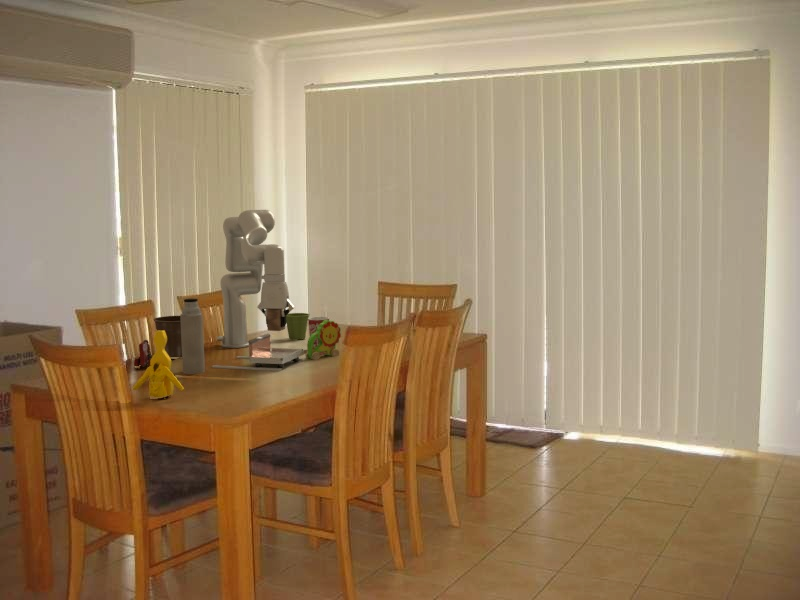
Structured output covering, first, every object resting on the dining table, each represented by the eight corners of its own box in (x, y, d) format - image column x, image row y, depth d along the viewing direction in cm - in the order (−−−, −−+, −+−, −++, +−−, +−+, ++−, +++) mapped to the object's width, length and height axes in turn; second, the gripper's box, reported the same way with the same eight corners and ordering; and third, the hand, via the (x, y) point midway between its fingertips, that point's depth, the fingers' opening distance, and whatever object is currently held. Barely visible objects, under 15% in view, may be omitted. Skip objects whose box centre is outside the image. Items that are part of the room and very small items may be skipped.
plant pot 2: (309, 341, 416) (308, 315, 414) (282, 341, 416) (281, 316, 414) (312, 336, 427) (311, 312, 426) (286, 337, 427) (285, 312, 426)
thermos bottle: (190, 371, 349) (187, 297, 346) (209, 372, 347) (206, 297, 343) (178, 375, 342) (175, 299, 339) (197, 376, 339) (194, 300, 336)
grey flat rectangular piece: (212, 370, 352) (212, 365, 351) (237, 360, 372) (237, 356, 371) (280, 373, 343) (280, 368, 343) (302, 362, 363) (302, 358, 363)
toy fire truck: (159, 364, 365) (158, 338, 364) (151, 370, 353) (150, 343, 352) (141, 364, 365) (140, 338, 364) (133, 370, 353) (131, 343, 352)
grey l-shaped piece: (246, 368, 348) (245, 340, 347) (269, 359, 367) (268, 332, 366) (282, 370, 344) (281, 342, 342) (303, 360, 363) (302, 333, 361)
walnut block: (267, 330, 352) (266, 309, 351) (273, 328, 356) (272, 307, 356) (279, 330, 350) (279, 309, 349) (285, 329, 355) (284, 308, 354)
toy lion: (313, 362, 365) (312, 323, 363) (304, 360, 368) (303, 322, 367) (344, 356, 376) (343, 319, 374) (335, 355, 379) (334, 318, 378)
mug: (329, 351, 388) (328, 319, 386) (307, 351, 388) (306, 319, 386) (331, 346, 400) (330, 315, 399) (310, 346, 400) (309, 315, 398)
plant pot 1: (203, 357, 379) (201, 318, 377) (166, 362, 369) (164, 322, 367) (185, 352, 391) (183, 314, 390) (148, 357, 381) (147, 318, 379)
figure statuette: (129, 400, 303) (126, 333, 300) (139, 394, 311) (136, 329, 308) (182, 400, 301) (179, 333, 298) (191, 395, 308) (188, 329, 306)
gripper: (249, 279, 350) (251, 327, 352) (291, 279, 345) (293, 328, 347) (258, 277, 357) (260, 324, 359) (299, 277, 352) (301, 325, 354)
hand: (276, 326), depth 353 cm, fingers closed on walnut block, 5 cm apart
